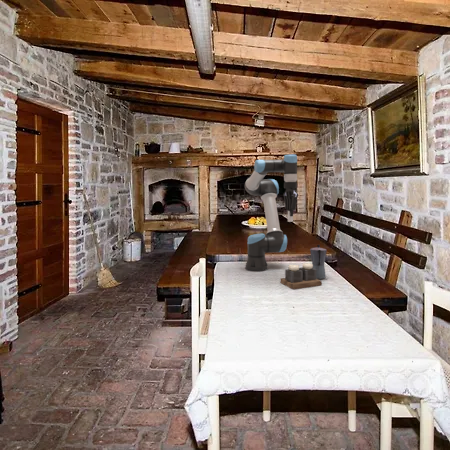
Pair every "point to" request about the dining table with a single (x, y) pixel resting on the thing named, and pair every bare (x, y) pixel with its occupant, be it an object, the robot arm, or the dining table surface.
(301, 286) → the mount
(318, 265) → the moka pot
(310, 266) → the plunger far
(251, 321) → the dining table surface
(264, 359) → the dining table surface
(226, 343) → the dining table surface
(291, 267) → the plunger near
